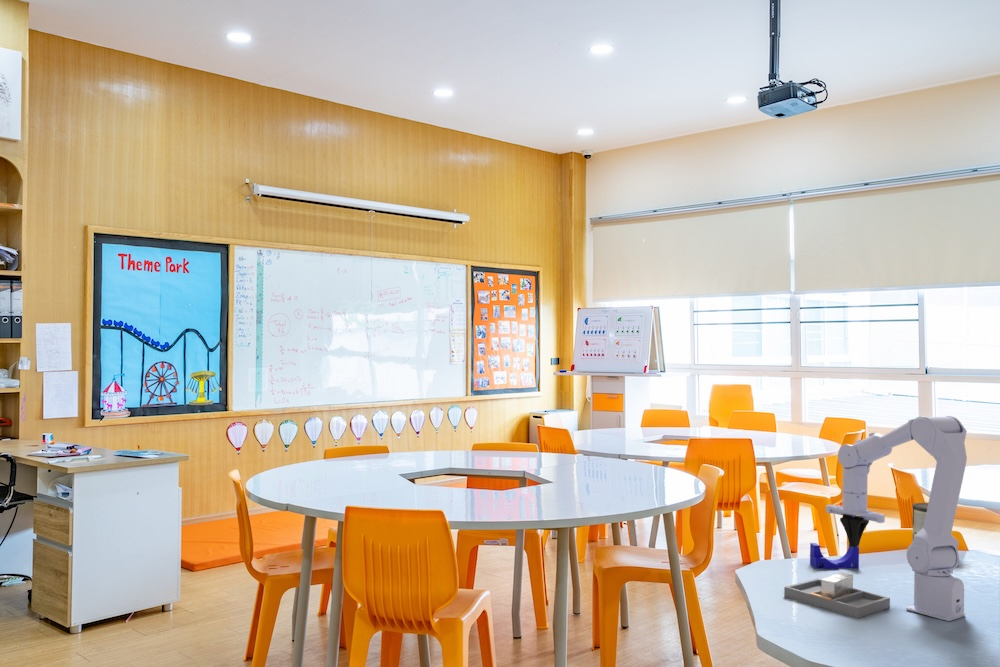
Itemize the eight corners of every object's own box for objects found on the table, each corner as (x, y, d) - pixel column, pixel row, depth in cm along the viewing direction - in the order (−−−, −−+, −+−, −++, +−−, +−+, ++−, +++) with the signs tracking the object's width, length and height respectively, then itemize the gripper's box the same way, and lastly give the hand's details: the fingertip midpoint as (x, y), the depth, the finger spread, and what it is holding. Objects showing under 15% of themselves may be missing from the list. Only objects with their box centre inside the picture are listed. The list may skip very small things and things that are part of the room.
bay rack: (889, 607, 180) (889, 597, 180) (857, 618, 172) (857, 607, 172) (817, 587, 195) (817, 577, 195) (784, 596, 187) (784, 586, 187)
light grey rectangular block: (852, 594, 186) (853, 575, 186) (834, 602, 179) (834, 582, 179) (840, 591, 188) (840, 572, 188) (821, 599, 182) (821, 579, 182)
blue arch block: (815, 569, 213) (816, 546, 213) (810, 564, 217) (810, 542, 218) (861, 570, 212) (861, 548, 213) (854, 566, 217) (854, 544, 217)
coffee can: (906, 548, 239) (906, 502, 239) (942, 550, 237) (943, 503, 238) (919, 557, 228) (920, 508, 229) (957, 559, 227) (958, 510, 227)
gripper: (891, 495, 196) (890, 550, 196) (836, 486, 208) (836, 538, 207) (876, 497, 192) (875, 554, 191) (821, 488, 204) (820, 541, 203)
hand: (854, 546), depth 199 cm, fingers closed
